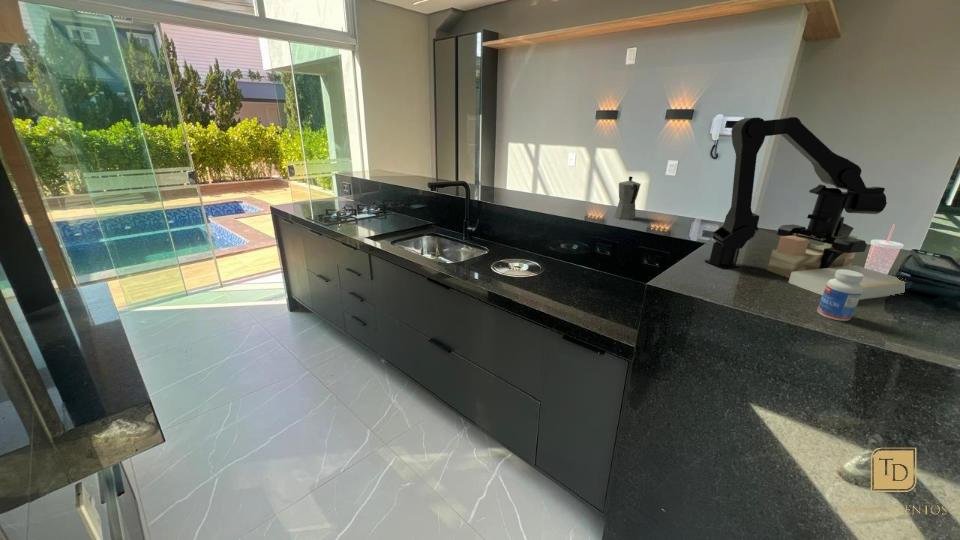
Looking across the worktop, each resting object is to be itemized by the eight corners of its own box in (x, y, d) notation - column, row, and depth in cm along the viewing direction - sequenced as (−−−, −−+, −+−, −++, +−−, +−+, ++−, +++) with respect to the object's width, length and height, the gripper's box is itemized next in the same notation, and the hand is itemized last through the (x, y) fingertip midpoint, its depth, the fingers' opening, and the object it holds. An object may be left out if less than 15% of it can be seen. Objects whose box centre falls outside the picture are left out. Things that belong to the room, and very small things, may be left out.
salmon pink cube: (793, 255, 97) (797, 240, 96) (776, 250, 101) (780, 236, 100) (804, 254, 98) (809, 240, 97) (787, 249, 102) (792, 235, 101)
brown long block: (790, 278, 99) (796, 256, 96) (766, 270, 104) (772, 249, 102) (848, 272, 104) (856, 251, 101) (823, 264, 109) (829, 244, 107)
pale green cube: (841, 251, 101) (846, 237, 100) (823, 246, 106) (827, 232, 104) (851, 250, 102) (857, 236, 101) (833, 245, 106) (838, 232, 105)
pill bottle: (809, 310, 81) (824, 267, 78) (832, 309, 81) (848, 267, 78) (834, 322, 76) (851, 277, 72) (858, 321, 76) (876, 277, 73)
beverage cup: (897, 278, 99) (919, 227, 94) (870, 277, 100) (890, 226, 95) (878, 270, 105) (898, 222, 100) (853, 269, 106) (871, 220, 101)
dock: (840, 302, 85) (845, 289, 84) (788, 282, 96) (791, 271, 95) (908, 293, 90) (913, 281, 89) (851, 275, 101) (855, 264, 100)
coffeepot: (609, 214, 174) (615, 174, 167) (630, 214, 173) (636, 175, 167) (620, 221, 159) (626, 178, 153) (642, 222, 159) (649, 179, 153)
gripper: (893, 218, 92) (869, 277, 97) (812, 204, 109) (796, 255, 114) (860, 220, 89) (837, 280, 94) (783, 205, 106) (767, 258, 111)
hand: (808, 267), depth 104 cm, fingers closed on brown long block, 6 cm apart
